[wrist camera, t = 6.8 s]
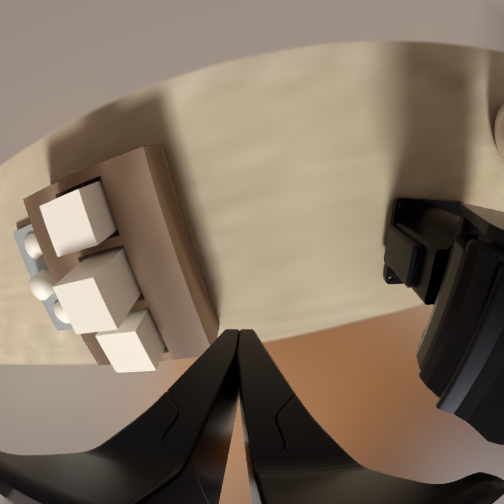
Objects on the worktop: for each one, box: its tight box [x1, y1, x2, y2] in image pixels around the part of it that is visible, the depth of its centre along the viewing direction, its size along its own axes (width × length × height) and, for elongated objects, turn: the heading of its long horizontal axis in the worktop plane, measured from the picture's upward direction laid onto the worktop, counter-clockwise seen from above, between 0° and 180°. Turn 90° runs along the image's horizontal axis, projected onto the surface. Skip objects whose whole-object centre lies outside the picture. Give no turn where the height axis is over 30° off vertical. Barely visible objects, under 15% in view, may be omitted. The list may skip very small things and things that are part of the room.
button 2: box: [95, 308, 166, 372], centre depth 20 cm, size 3×3×5 cm
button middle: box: [53, 245, 142, 334], centre depth 17 cm, size 3×3×5 cm
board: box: [23, 144, 219, 365], centre depth 20 cm, size 10×14×4 cm
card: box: [13, 224, 73, 330], centre depth 21 cm, size 4×10×2 cm, turn 14°
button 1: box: [39, 180, 118, 257], centre depth 17 cm, size 3×3×5 cm
